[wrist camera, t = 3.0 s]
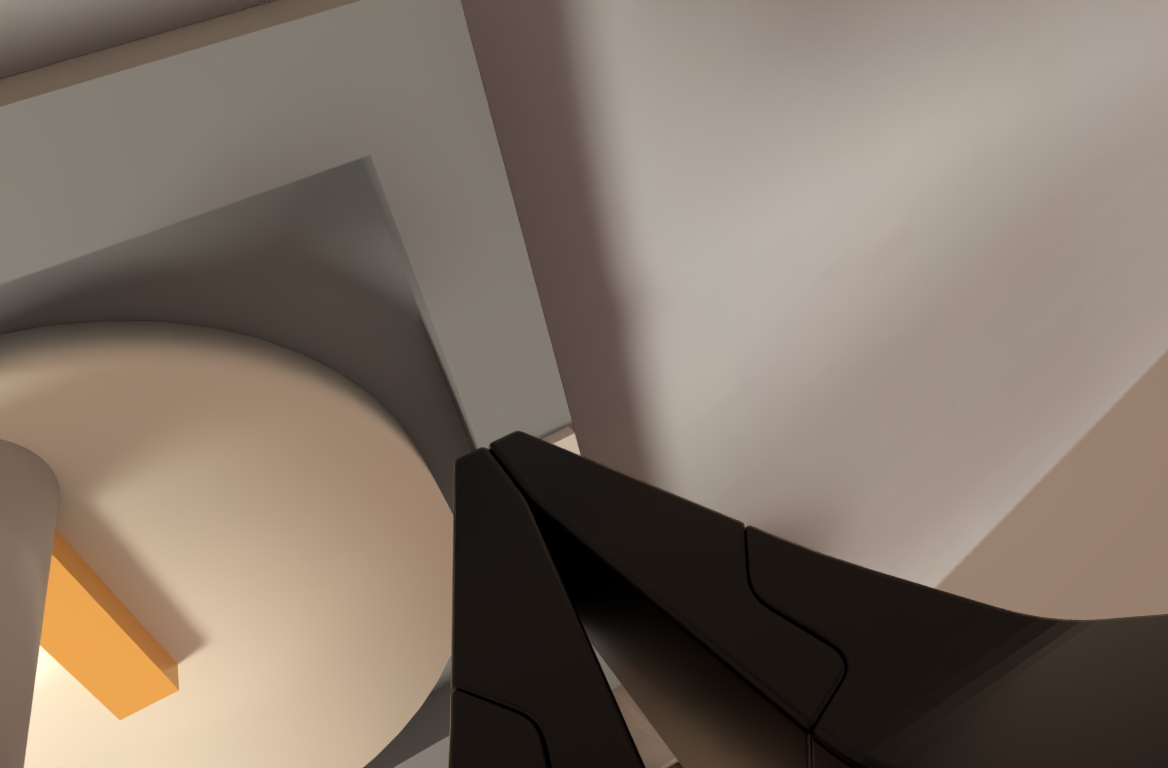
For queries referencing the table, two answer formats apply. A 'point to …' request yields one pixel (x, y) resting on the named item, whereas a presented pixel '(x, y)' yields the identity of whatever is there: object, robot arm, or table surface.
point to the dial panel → (294, 220)
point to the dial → (208, 555)
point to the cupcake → (644, 734)
